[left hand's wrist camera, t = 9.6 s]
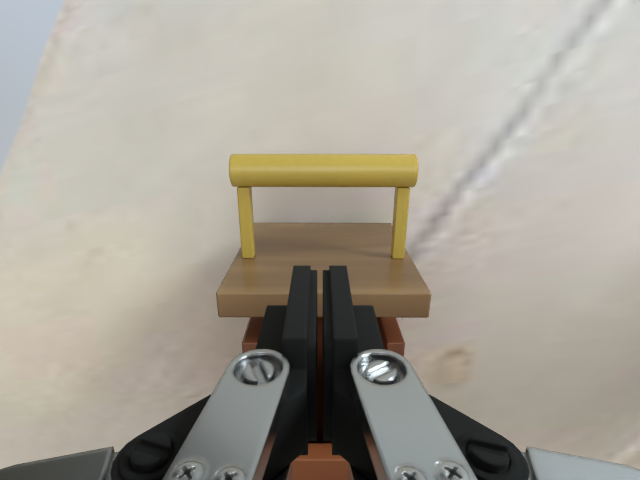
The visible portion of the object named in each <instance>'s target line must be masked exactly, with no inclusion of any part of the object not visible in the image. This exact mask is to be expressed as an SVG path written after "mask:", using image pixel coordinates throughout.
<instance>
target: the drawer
mask: <svg viewBox="0 0 640 480" xmlns="http://www.w3.org/2000/svg"><path fill="white" fill-rule="evenodd" d="M229 176H230V181H231V184H232V186H234V187H238V188H237V194H238V208H239V222H240V236H241V248H240V250H239V252H238V254H237V256H236V257H235V259H234V261H233V263H232V265H231V267H230V269H229V270H228V272H227V274H226V276H225V278H224V280H223V282H222V283H221V285H220V287H219V289H218V291H217V293H216V297H217V306H218V315H219V317H250V320H249V323H248V326H247V329H246V332H245V336H244V339H243V342H242V350H243V353H245V352H247V351H251V350H255V349H256V346H257V342H258V338H259V334H260V330H261V326H262V322H263V319H264V315H265V311H266V307H267V305H287V303H288V297H289V290H290V284H291V278H292V272H293V266H311V270H317V441H308V443H332V441H323V270H329V266H347V272H348V278H349V284H350V290H351V297H352V303H353V305H373V307H374V311H375V315H376V319H377V322H378V326H379V330H380V334H381V338H382V342H383V346H384V349H385V350H389V351H393V352H395V353H398V354H400V355H401V356H403V357H404V347H405V343H404V340H403V337H402V334H401V331H400V328H399V325H398V323H397V320H396V317H428V316H429V309H430V300H431V292H430V291H429V289H428V287H427V285H426V284H425V282H424V280H423V278H422V277H421V275H420V273H419V272H418V270H417V268H416V266H415V265H414V263H413V261H412V259H411V258H410V256H409V254H408V252H407V251H406V249H405V241H406V229H407V217H408V205H409V194H410V188H409V187H414V186H415V185H416V182H417V178H418V159H417V156H416V155H415V154H232V155H231V156H230V160H229ZM251 187H395V199H394V213H393V227H392V225H391V223H253V206H252V189H251Z"/></svg>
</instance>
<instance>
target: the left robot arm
mask: <svg viewBox="0 0 640 480" xmlns="http://www.w3.org/2000/svg"><path fill="white" fill-rule="evenodd" d="M308 441H317V270H311V266H293V272H292V278H291V284H290V290H289V297H288V303H287V305H267V307H266V311H265V315H264V319H263V322H262V326H261V330H260V334H259V338H258V342H257V346H256V349H255V350H251V351H247V352H245V353H242V354H240V355H239V356H237V357H236V358H234V359H233V360H232V361H231V363H230V364H229V365H228V367H227V369H226V370H225V372H224V374H223V375H222V377H221V379H220V381H219V382H218V384H217V386H216V388H215V389H214V391H213V393H212V394H211V395H209V396H207V397H205V398H204V399H202V400H200V401H198V402H197V403H195V404H193V405H191V406H190V407H188V408H186V409H184V410H183V411H181V412H179V413H177V414H176V415H174V416H172V417H170V418H169V419H167V420H165V421H163V422H162V423H160V424H158V425H156V426H155V427H153V428H151V429H149V430H148V431H146V432H144V433H142V434H141V435H139V436H137V437H136V438H134V439H133V440H132V441H130V442H129V443H127V444H126V445H125V446H124V447H123V448H122V450H121V451H120V452H114V448H113V447H108V448H102V449H97V450H92V451H86V452H81V453H76V454H70V455H65V456H60V457H54V458H49V459H44V460H38V461H33V462H28V463H22V464H17V465H13V466H10V467H7V468H4V469H1V470H0V480H291V479H292V474H293V461H294V460H295V459H296V458H297V457H299V456H300V455H308ZM323 441H332V455H340V456H341V457H343V458H344V459H345V460H346V461H347V474H348V479H349V480H640V470H639V469H636V468H633V467H630V466H627V465H623V464H618V463H612V462H607V461H602V460H596V459H591V458H586V457H580V456H575V455H570V454H564V453H559V452H554V451H548V450H543V449H538V448H532V447H527V448H526V452H520V451H519V450H518V448H517V447H516V446H515V445H514V444H513V443H511V442H510V441H508V440H507V439H506V438H504V437H503V436H501V435H499V434H498V433H496V432H494V431H492V430H491V429H489V428H487V427H485V426H484V425H482V424H480V423H478V422H477V421H475V420H473V419H471V418H470V417H468V416H466V415H464V414H463V413H461V412H459V411H457V410H456V409H454V408H452V407H450V406H449V405H447V404H445V403H443V402H442V401H440V400H438V399H436V398H435V397H433V396H431V395H429V394H428V393H427V391H426V389H425V388H424V386H423V384H422V382H421V381H420V379H419V377H418V375H417V374H416V372H415V370H414V369H413V367H412V365H411V364H410V363H409V361H408V360H407V359H406V358H404V357H403V356H401V355H400V354H398V353H395V352H393V351H389V350H385V349H384V346H383V342H382V338H381V334H380V330H379V326H378V322H377V319H376V315H375V311H374V307H373V305H353V303H352V297H351V290H350V284H349V278H348V272H347V266H329V270H323Z"/></svg>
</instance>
